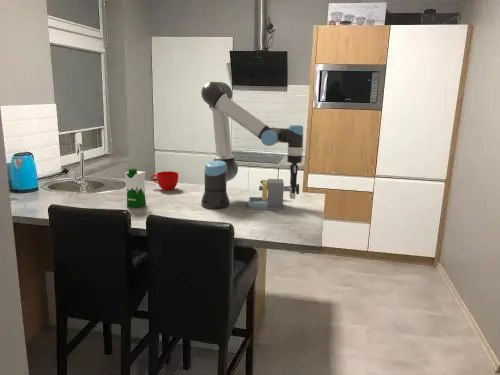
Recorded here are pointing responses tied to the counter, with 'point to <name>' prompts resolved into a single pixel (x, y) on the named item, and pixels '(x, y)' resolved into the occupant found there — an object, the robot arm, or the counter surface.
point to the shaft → (286, 188)
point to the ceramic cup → (166, 180)
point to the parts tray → (257, 203)
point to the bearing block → (275, 194)
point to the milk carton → (135, 188)
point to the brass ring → (264, 191)
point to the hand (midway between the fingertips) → (292, 197)
